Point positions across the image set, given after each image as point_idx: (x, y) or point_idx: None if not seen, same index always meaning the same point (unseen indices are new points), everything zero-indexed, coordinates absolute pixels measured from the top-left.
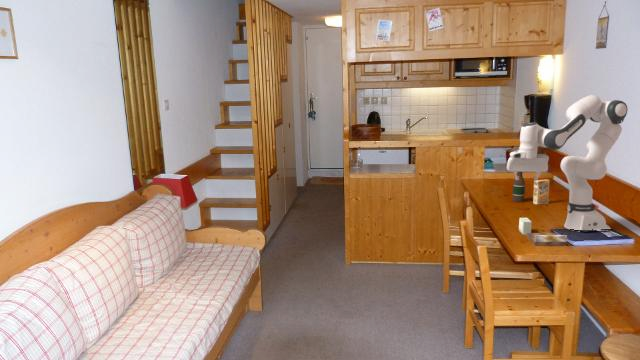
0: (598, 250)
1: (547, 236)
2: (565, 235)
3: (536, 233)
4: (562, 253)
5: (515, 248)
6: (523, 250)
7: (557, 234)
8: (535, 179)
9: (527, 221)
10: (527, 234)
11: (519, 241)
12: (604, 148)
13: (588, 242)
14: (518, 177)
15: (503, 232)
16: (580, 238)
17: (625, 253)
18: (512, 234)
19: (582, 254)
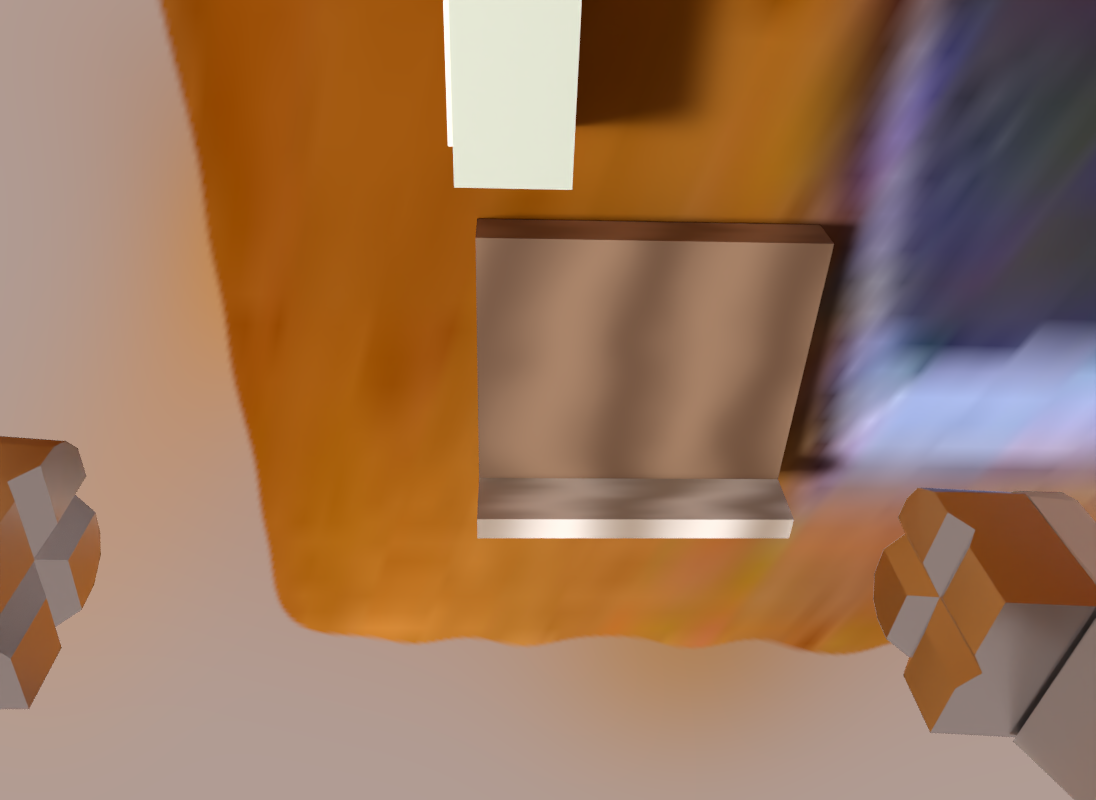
0: None
1: (597, 533)
2: (780, 529)
3: (590, 254)
4: (634, 616)
5: (287, 525)
6: (347, 564)
7: (812, 300)
8: (902, 613)
9: (517, 165)
10: (476, 267)
11: (360, 361)
12: None
13: (1018, 404)
14: (9, 667)
15: (214, 18)
16: (1036, 292)
17: None
18: (326, 117)
19: (770, 631)
